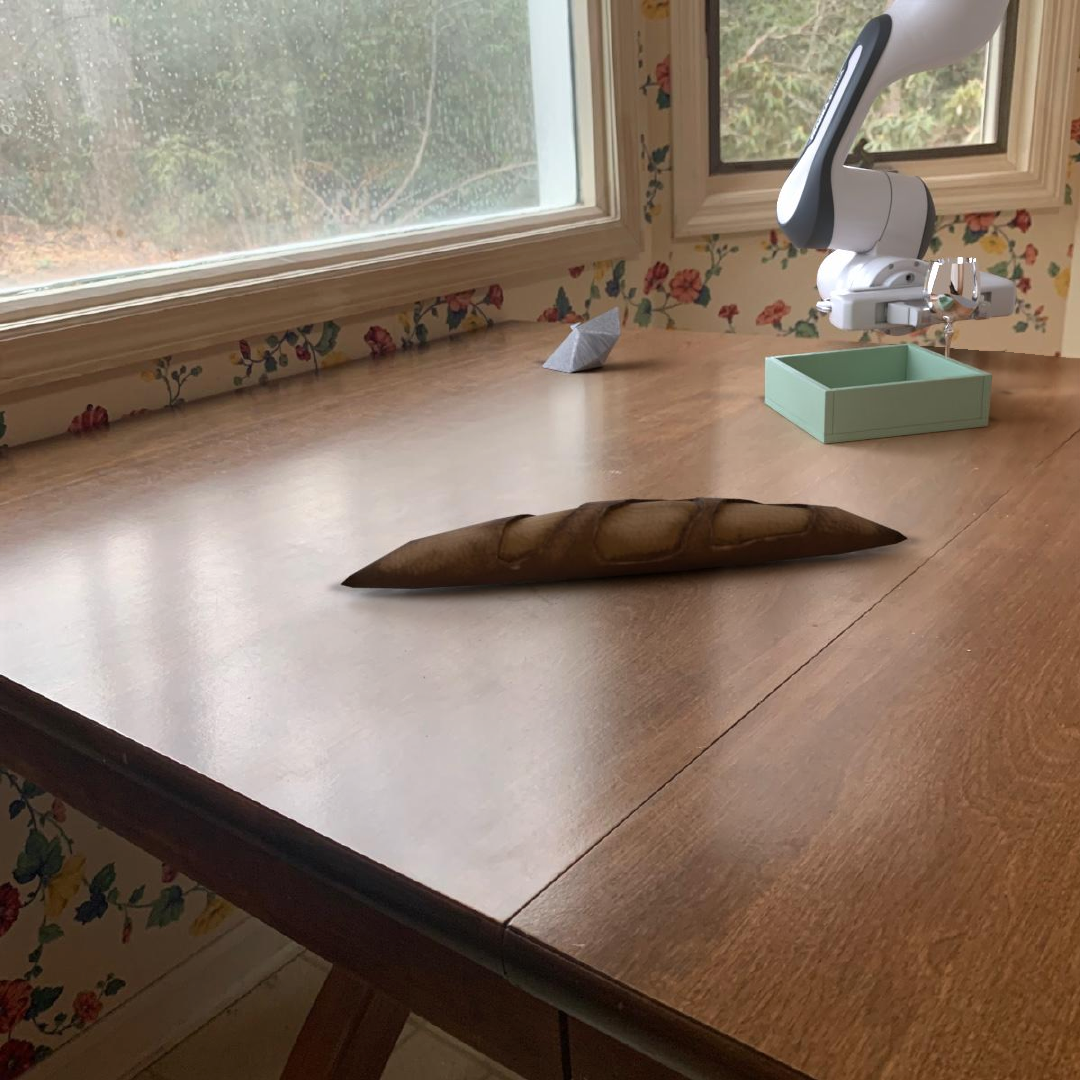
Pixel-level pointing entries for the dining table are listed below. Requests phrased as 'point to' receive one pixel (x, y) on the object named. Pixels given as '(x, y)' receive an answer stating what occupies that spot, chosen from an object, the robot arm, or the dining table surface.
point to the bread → (623, 542)
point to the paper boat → (587, 344)
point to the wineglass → (951, 291)
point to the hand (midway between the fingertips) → (954, 314)
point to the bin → (876, 392)
